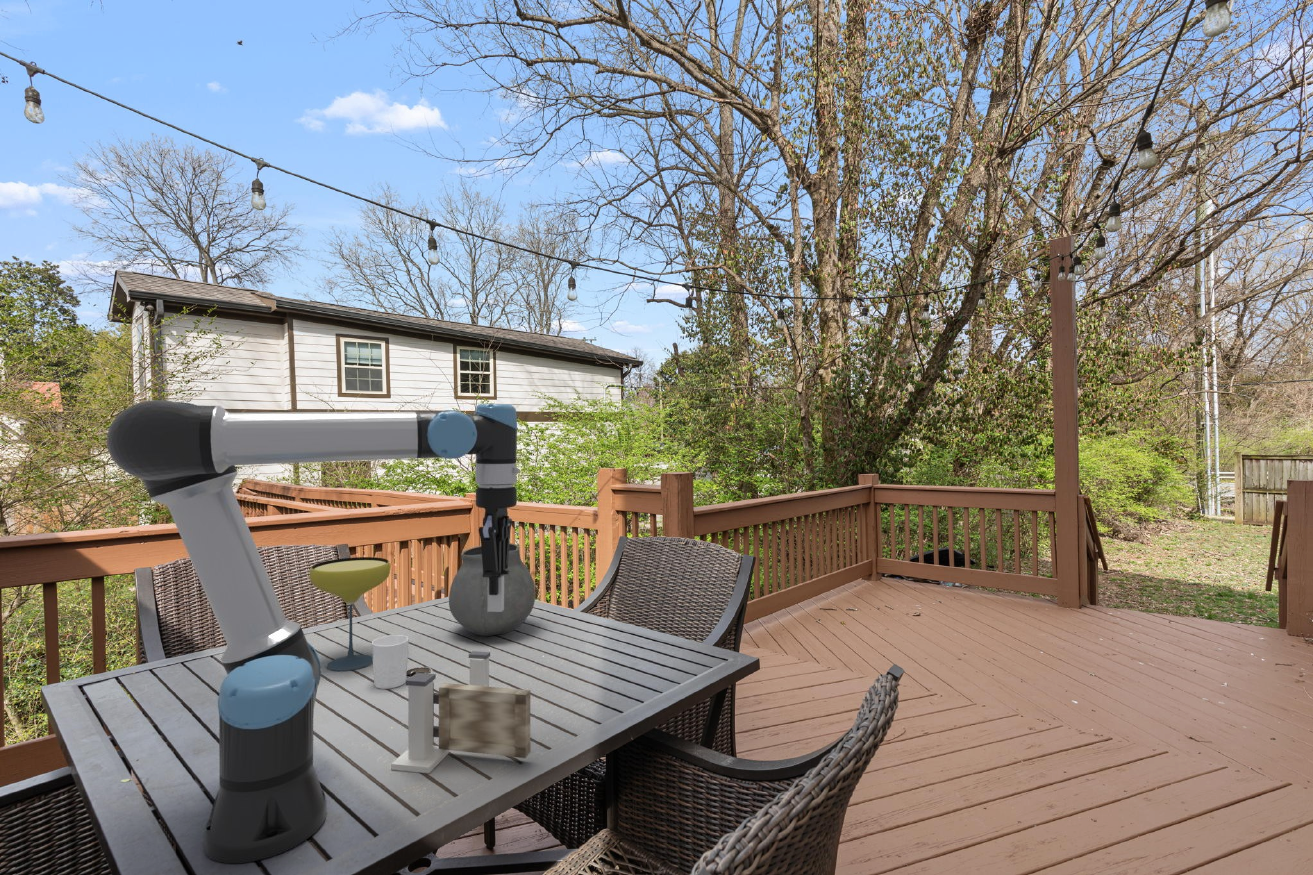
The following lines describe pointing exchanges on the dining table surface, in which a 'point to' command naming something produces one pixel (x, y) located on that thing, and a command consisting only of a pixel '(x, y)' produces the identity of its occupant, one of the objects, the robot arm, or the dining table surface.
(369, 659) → the cocktail glass
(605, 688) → the dining table surface
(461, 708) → the gate
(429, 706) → the hinge post
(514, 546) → the ceramic pot
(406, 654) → the white cup
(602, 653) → the dining table surface
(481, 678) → the latch post
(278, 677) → the robot arm
